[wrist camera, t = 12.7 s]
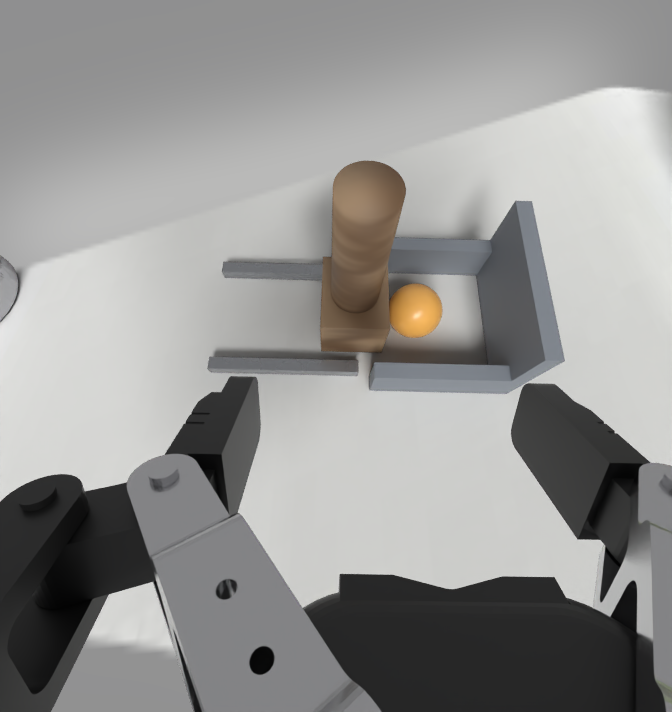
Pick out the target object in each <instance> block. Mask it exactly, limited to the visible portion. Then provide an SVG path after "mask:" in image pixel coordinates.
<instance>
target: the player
mask: <svg viewBox="0 0 672 712" xmlns="http://www.w3.org/2000/svg"><path fill="white" fill-rule="evenodd" d="M405 194H406V188H405V183H404V181H403V179H402V177H401V176H400V175H399V173H398V172H397V171H395V170H394V169H393V168H391V167H390V166H388V165H386V164H383V163H380V162H376V161H359V162H355V163H352V164H350V165H348V166H346V167H344V168H343V169H342V170H341V171H340V172H339V173H338V174H337V176H336V177H335V179H334V183H333V207H332V257H323V271H322V297H321V324H320V331H321V351H336V352H375V353H381V352H382V349H383V346H384V344H385V341H386V339H387V336H388V333H389V331H390V315H389V286H388V260H389V256H390V252H391V249H392V245H393V241H394V237H395V233H396V229H397V225H398V222H399V218H400V214H401V210H402V206H403V202H404V198H405Z"/></svg>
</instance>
